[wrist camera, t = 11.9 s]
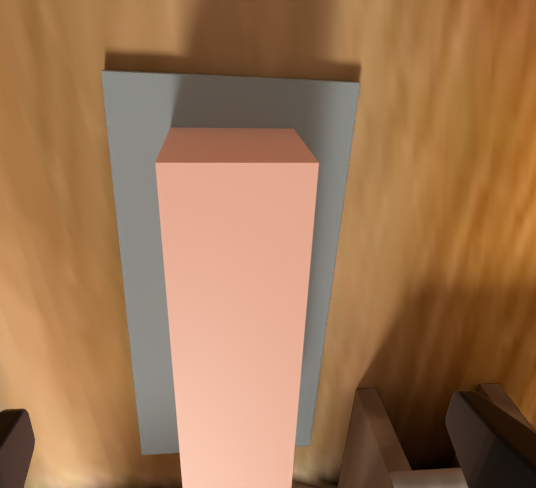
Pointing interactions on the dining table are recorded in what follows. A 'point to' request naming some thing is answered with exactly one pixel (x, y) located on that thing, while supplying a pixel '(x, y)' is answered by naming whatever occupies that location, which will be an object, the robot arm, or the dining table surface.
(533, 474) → the robot arm
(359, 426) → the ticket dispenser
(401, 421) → the dining table surface
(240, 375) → the block
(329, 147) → the slate mat
